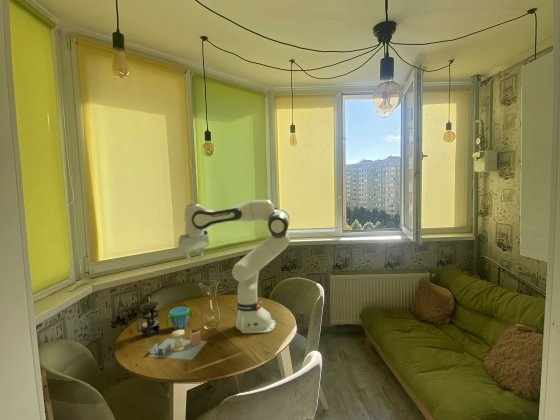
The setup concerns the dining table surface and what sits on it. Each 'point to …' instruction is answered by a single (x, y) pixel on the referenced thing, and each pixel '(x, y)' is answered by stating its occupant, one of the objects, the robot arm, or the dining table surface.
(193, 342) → the tab block
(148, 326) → the french press
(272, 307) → the dining table surface
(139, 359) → the dining table surface
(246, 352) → the dining table surface
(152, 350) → the notch block
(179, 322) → the snack cup
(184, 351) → the bobbin board
